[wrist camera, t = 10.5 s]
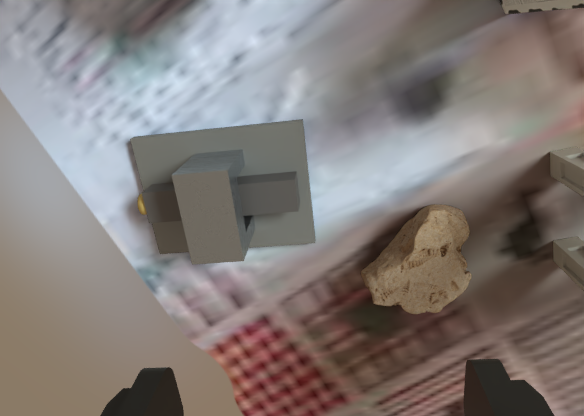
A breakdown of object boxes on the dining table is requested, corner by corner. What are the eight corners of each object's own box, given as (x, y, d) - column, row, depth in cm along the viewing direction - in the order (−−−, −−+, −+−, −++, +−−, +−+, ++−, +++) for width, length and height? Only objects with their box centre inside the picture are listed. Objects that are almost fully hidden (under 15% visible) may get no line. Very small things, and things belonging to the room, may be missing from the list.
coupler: (134, 136, 40) (117, 145, 37) (302, 119, 38) (300, 127, 35) (163, 249, 45) (150, 266, 41) (315, 238, 43) (314, 255, 40)
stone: (351, 266, 44) (354, 292, 39) (431, 184, 40) (445, 204, 35) (414, 312, 46) (425, 343, 41) (497, 239, 42) (518, 264, 37)
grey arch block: (195, 153, 39) (171, 175, 33) (242, 149, 39) (227, 170, 33) (211, 231, 42) (192, 264, 36) (255, 228, 42) (243, 260, 36)
